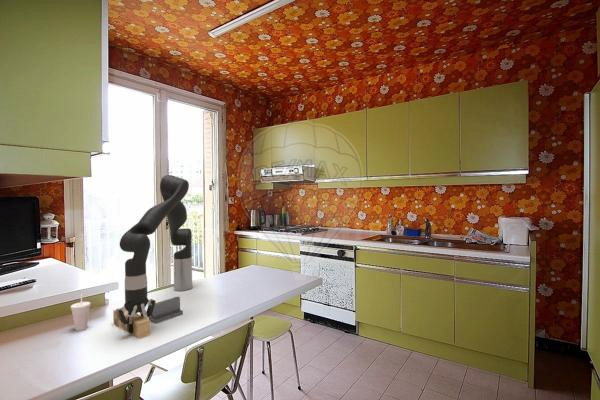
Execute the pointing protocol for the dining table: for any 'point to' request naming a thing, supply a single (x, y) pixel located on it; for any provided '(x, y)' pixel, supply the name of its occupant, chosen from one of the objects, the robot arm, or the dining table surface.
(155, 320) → the ridge
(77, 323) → the smoothie
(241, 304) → the dining table surface
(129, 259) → the robot arm
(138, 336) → the oak beam
